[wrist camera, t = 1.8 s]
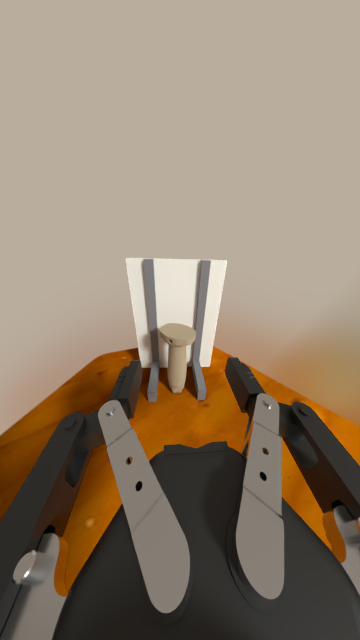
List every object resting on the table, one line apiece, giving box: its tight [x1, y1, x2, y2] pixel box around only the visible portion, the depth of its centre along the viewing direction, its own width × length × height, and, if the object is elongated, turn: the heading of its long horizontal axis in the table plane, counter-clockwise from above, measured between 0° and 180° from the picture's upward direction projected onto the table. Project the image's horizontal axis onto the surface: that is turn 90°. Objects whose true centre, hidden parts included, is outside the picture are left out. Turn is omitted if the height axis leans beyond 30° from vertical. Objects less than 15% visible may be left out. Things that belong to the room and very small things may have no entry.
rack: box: [126, 258, 227, 402], centre depth 27 cm, size 18×10×26 cm, turn 93°
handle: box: [160, 323, 196, 393], centre depth 27 cm, size 5×6×15 cm
